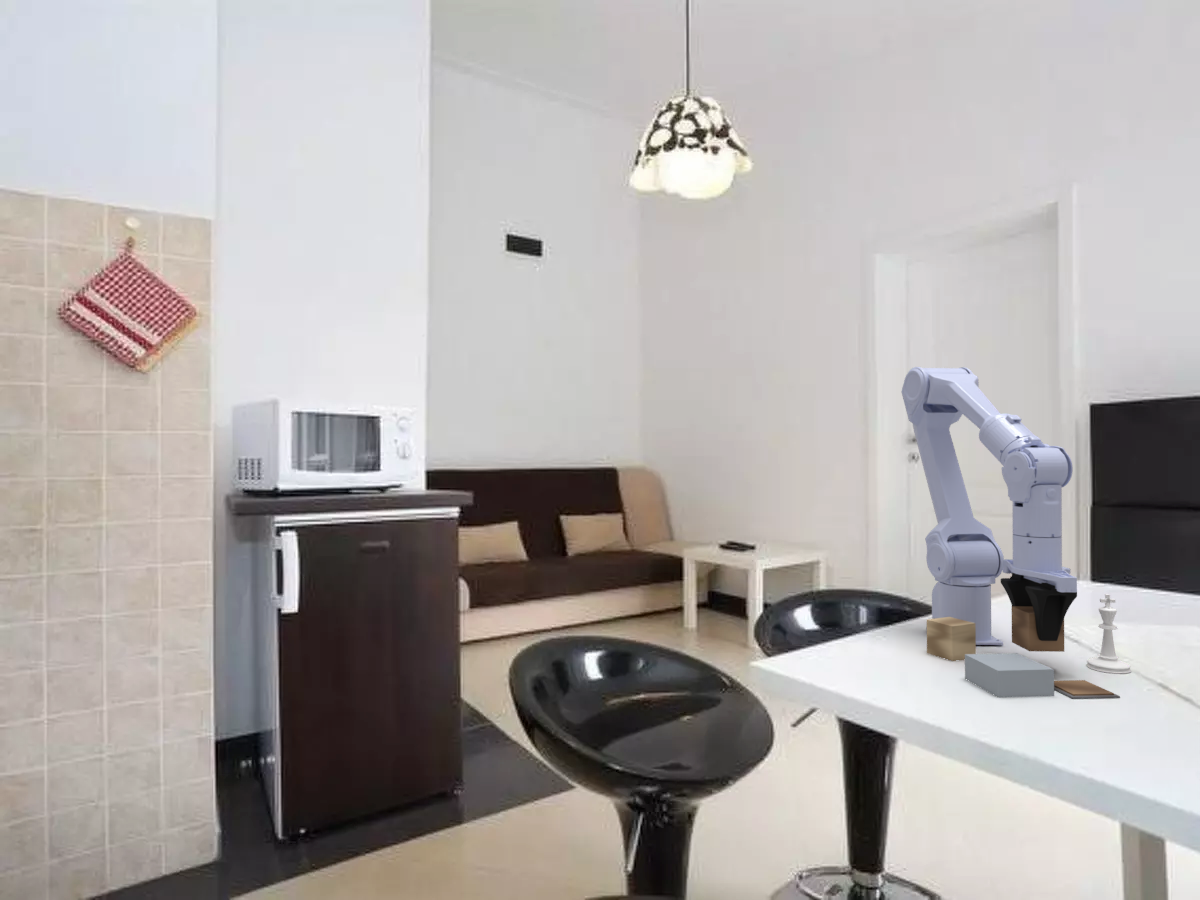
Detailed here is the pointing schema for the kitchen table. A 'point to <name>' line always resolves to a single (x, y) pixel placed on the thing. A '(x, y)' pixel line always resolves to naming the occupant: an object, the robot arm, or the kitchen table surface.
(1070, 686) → the walnut swatch
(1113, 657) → the chess piece
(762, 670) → the kitchen table surface
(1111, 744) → the kitchen table surface
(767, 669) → the kitchen table surface
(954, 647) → the oak block
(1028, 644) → the walnut block
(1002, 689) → the base block
